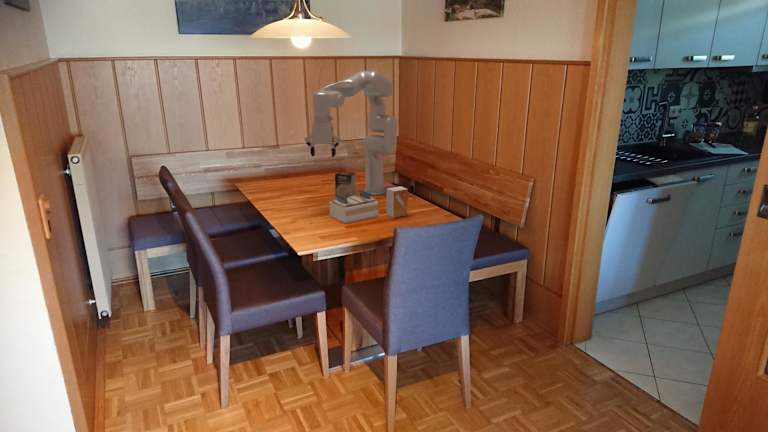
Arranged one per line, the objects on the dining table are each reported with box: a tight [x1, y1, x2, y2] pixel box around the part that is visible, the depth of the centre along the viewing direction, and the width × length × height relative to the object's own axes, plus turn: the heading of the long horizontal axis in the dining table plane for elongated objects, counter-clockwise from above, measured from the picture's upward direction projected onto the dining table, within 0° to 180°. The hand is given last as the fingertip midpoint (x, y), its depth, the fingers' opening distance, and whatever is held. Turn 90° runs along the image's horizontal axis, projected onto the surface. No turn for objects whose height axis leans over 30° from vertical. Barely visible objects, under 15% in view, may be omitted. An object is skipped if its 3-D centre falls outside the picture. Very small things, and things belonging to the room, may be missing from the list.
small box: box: [385, 185, 409, 219], centre depth 240 cm, size 8×6×13 cm
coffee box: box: [334, 171, 357, 199], centre depth 259 cm, size 9×6×16 cm
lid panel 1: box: [330, 194, 360, 207], centre depth 236 cm, size 9×11×4 cm
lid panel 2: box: [348, 189, 377, 203], centre depth 241 cm, size 9×11×4 cm
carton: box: [329, 200, 379, 224], centre depth 240 cm, size 18×14×7 cm
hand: (323, 156), depth 241 cm, fingers open, 9 cm apart
